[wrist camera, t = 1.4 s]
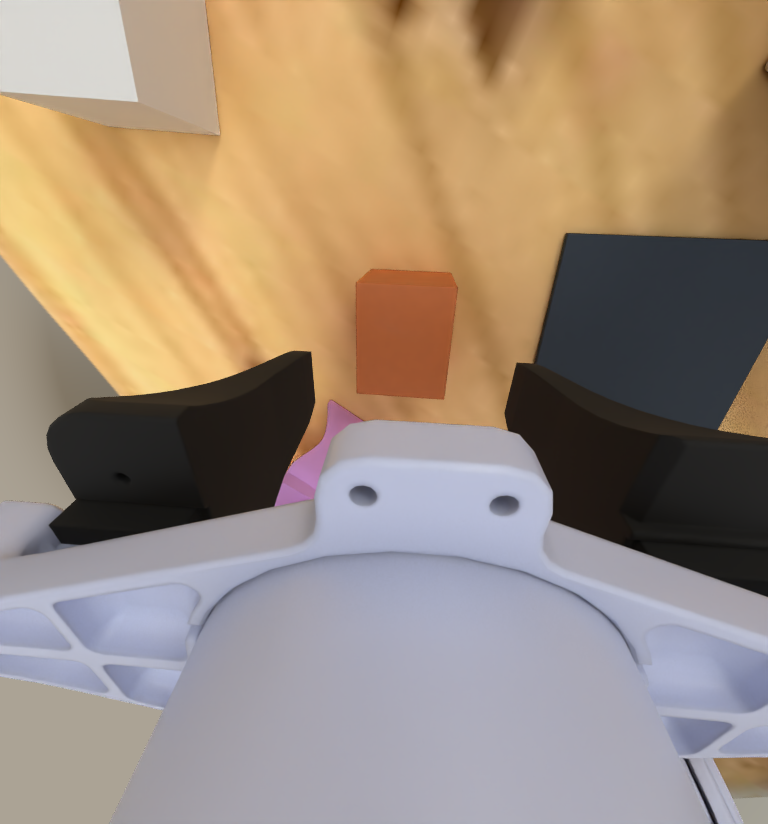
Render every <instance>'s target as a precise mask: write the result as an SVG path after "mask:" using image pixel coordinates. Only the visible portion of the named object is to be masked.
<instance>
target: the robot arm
mask: <svg viewBox="0 0 768 824" xmlns="http://www.w3.org/2000/svg"><path fill="white" fill-rule="evenodd" d="M314 405H315V392H314V380H313V369H312V357H311V352H307V351H291V352H288V353H285V354H283V355H280V356H278V357H276V358H274V359H271V360H269V361H267V362H265V363H263V364H260V365H258V366H256V367H253V368H251V369H248V370H246V371H243V372H241V373H238V374H236V375H233V376H230V377H227V378H224V379H221V380H218V381H214V382H211V383H207V384H203V385H198V386H194V387H189V388H184V389H179V390H174V391H168V392H161V393H153V394H145V395H134V396H119V397H103V398H89V399H86V400H85V401H84V402H82V403H80V404H79V405H77V406H75V407H74V408H72V409H71V410H69V411H68V412H66V413H65V414H63V415H61V416H60V417H58V418H57V419H56V420H55V421H54V422H53V423H52V424H51V425H50V427H49V430H48V432H47V435H46V436H47V446H48V450H49V452H50V455H51V457H52V459H53V462H54V463H55V465H56V467H57V468H58V470H59V471H60V473H61V475H62V477H63V478H64V480H65V482H66V484H67V485H68V487H69V488H70V490H71V492H72V493H73V495H74V497H75V498H76V500H75V501H74V502H73V503H72V504H71V505H70V506H69V507H68V508H67V509H65V510H63V509H61V508H59V507H58V506H56V505H52V504H47V503H36V502H22V501H3V502H2V503H0V677H6V678H11V679H17V680H24V681H30V682H36V683H42V684H46V685H51V686H56V687H61V688H66V689H70V690H75V691H80V692H84V693H89V694H93V695H97V696H102V697H106V698H111V699H115V700H120V701H124V702H129V703H133V704H137V705H141V706H146V707H150V708H155V709H159V710H163V712H162V714H161V716H160V718H159V720H158V723H157V725H156V727H155V729H154V731H153V733H152V735H151V737H150V739H149V741H148V743H147V745H146V747H145V750H144V752H143V754H142V756H141V758H140V760H139V762H138V764H137V766H136V768H135V770H134V773H133V775H132V777H131V779H130V781H129V783H128V785H127V787H126V790H125V791H124V793H123V796H122V798H121V800H120V802H119V804H118V806H117V808H116V810H115V812H114V814H113V816H112V819H111V821H110V823H109V824H744V823H743V821H742V818H741V816H740V814H739V812H738V810H737V807H736V805H735V803H734V801H733V799H732V797H731V794H730V792H729V790H728V788H727V786H726V784H725V782H724V780H723V778H722V776H721V774H720V772H719V770H718V768H717V766H716V764H715V762H714V760H713V758H737V757H768V438H763V437H756V436H750V435H744V434H737V433H731V432H725V431H719V430H714V429H710V428H705V427H700V426H696V425H691V424H687V423H683V422H679V421H675V420H671V419H667V418H664V417H660V416H657V415H653V414H650V413H647V412H644V411H640V410H637V409H634V408H632V407H629V406H626V405H624V404H621V403H618V402H616V401H613V400H611V399H608V398H606V397H604V396H602V395H599V394H597V393H595V392H593V391H591V390H588V389H586V388H584V387H582V386H580V385H578V384H576V383H574V382H573V381H571V380H569V379H567V378H565V377H563V376H561V375H559V374H557V373H555V372H553V371H551V370H549V369H547V368H545V367H543V366H540V365H538V364H531V363H517V364H516V368H515V372H514V376H513V380H512V384H511V388H510V392H509V397H508V401H507V405H506V409H505V418H506V423H507V428H508V431H506V430H503V429H499V428H496V427H489V426H473V425H456V424H440V423H424V422H407V421H391V420H370V421H364V422H358V423H352V424H349V425H348V426H347V427H345V428H344V429H343V430H341V431H340V432H339V433H338V434H336V435H335V436H334V437H333V438H332V439H331V442H330V445H329V448H328V451H327V455H326V458H325V461H324V464H323V467H322V470H321V473H320V476H319V480H318V483H317V487H316V491H315V495H314V499H310V500H305V501H300V502H295V503H290V504H285V505H280V506H275V503H276V500H277V497H278V494H279V491H280V488H281V485H282V482H283V479H284V476H285V474H286V471H287V469H288V466H289V464H290V462H291V460H292V458H293V456H294V454H295V452H296V450H297V448H298V446H299V444H300V442H301V439H302V437H303V435H304V433H305V431H306V429H307V427H308V424H309V422H310V419H311V416H312V412H313V408H314ZM274 506H275V507H274Z"/></svg>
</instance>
